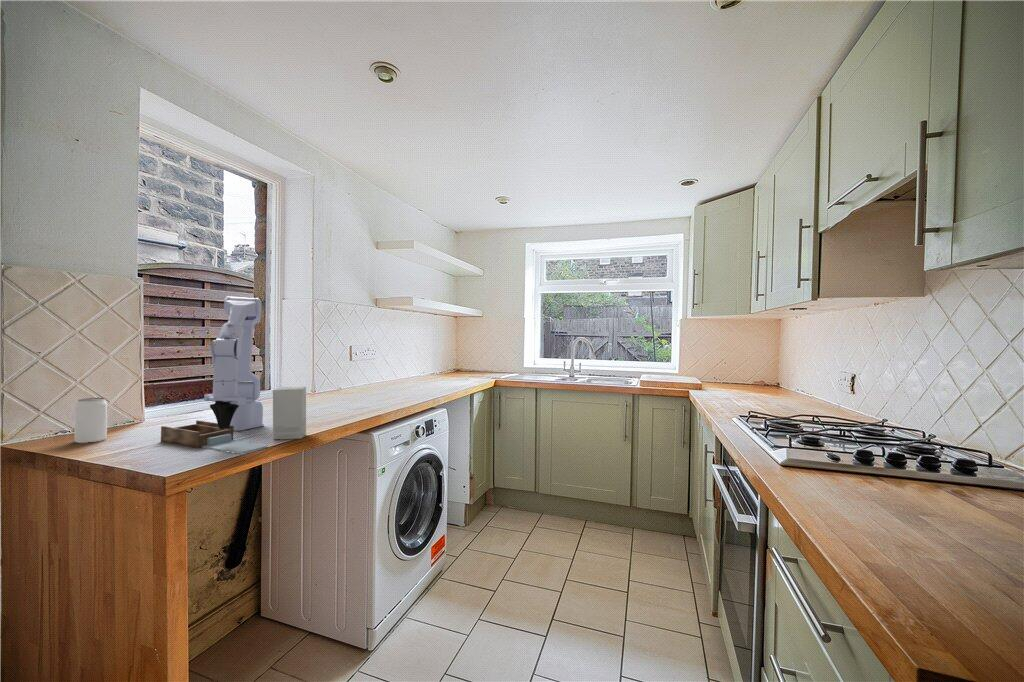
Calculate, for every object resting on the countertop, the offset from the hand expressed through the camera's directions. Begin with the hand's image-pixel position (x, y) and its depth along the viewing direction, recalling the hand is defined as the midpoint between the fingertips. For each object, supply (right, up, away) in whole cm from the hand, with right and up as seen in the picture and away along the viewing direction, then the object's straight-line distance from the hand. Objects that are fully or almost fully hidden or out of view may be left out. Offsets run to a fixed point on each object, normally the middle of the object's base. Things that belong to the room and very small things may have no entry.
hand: (224, 428), depth 117 cm
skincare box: (+12, -6, +11) cm, 18 cm away
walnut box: (-11, -5, +4) cm, 12 cm away
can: (-39, -4, 0) cm, 39 cm away
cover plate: (+4, -6, -1) cm, 7 cm away
